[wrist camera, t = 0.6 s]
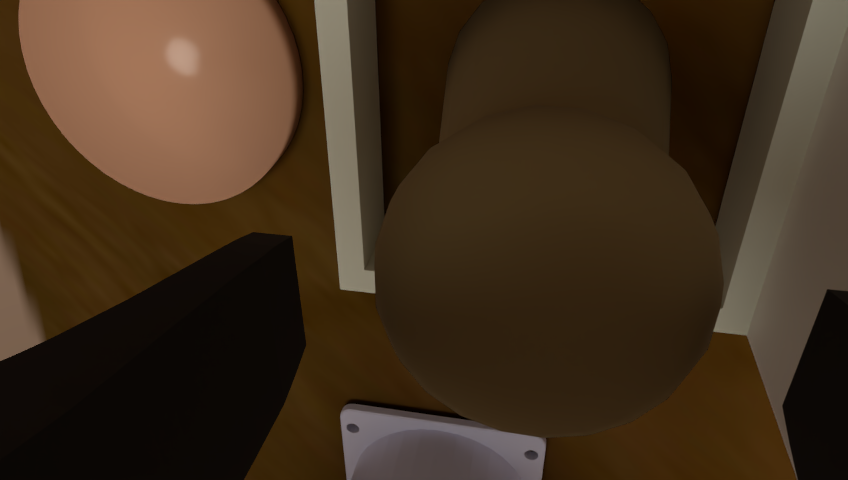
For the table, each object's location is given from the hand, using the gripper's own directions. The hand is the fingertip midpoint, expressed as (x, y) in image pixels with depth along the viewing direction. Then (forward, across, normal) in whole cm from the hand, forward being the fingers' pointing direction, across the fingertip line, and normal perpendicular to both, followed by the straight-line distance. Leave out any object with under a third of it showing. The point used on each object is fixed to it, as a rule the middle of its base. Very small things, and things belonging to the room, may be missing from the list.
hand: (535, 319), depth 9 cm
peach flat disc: (+10, +12, 0) cm, 16 cm away
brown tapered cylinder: (+11, 0, 0) cm, 11 cm away
